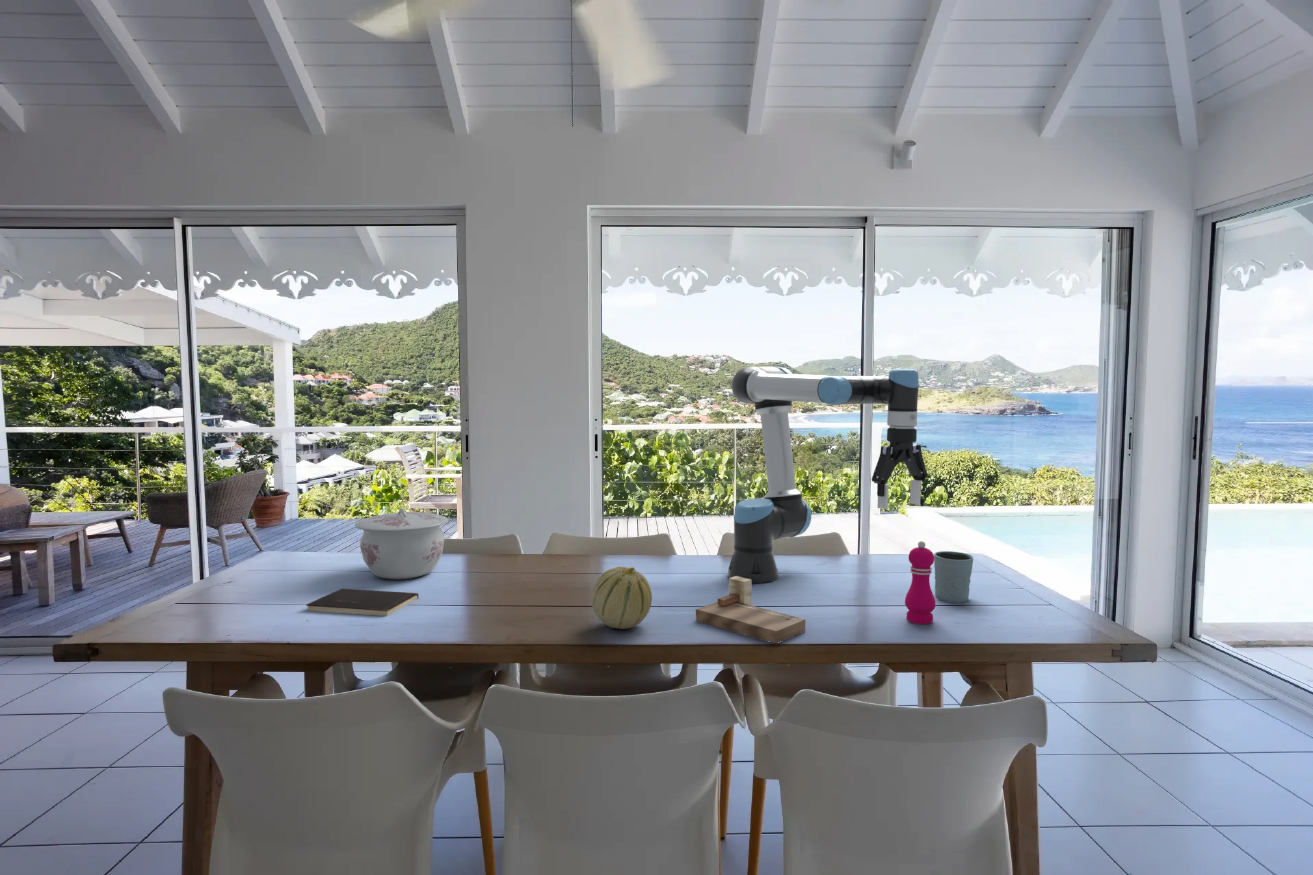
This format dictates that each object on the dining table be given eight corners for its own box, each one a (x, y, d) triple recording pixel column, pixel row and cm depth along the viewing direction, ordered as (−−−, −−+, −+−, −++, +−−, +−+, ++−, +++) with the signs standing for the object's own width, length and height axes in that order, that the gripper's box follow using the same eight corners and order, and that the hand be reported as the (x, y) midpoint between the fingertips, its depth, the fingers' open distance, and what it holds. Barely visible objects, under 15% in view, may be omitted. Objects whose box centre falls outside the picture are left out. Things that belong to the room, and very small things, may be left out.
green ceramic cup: (942, 590, 213) (943, 549, 212) (978, 598, 206) (979, 555, 205) (926, 597, 206) (927, 555, 205) (962, 605, 199) (964, 561, 198)
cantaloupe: (597, 616, 189) (597, 558, 188) (654, 618, 188) (654, 559, 187) (585, 636, 175) (585, 573, 174) (648, 638, 173) (648, 574, 172)
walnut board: (696, 620, 186) (696, 608, 186) (726, 610, 194) (726, 598, 194) (776, 644, 169) (776, 630, 169) (805, 631, 178) (805, 618, 178)
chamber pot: (411, 590, 213) (409, 518, 212) (335, 581, 223) (333, 512, 221) (468, 567, 240) (467, 503, 238) (398, 560, 249) (396, 498, 248)
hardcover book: (387, 618, 189) (386, 609, 189) (306, 613, 194) (306, 604, 194) (418, 600, 205) (418, 592, 205) (343, 595, 210) (343, 587, 209)
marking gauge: (712, 613, 190) (713, 583, 189) (739, 604, 198) (739, 574, 197) (728, 618, 186) (728, 586, 186) (754, 608, 194) (755, 578, 194)
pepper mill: (899, 616, 190) (901, 538, 188) (927, 615, 190) (929, 538, 189) (911, 625, 182) (913, 544, 181) (940, 624, 183) (942, 544, 182)
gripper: (882, 429, 188) (879, 512, 190) (942, 426, 202) (939, 503, 204) (859, 427, 195) (856, 508, 196) (919, 424, 209) (916, 500, 210)
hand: (899, 506), depth 200 cm, fingers open, 13 cm apart
